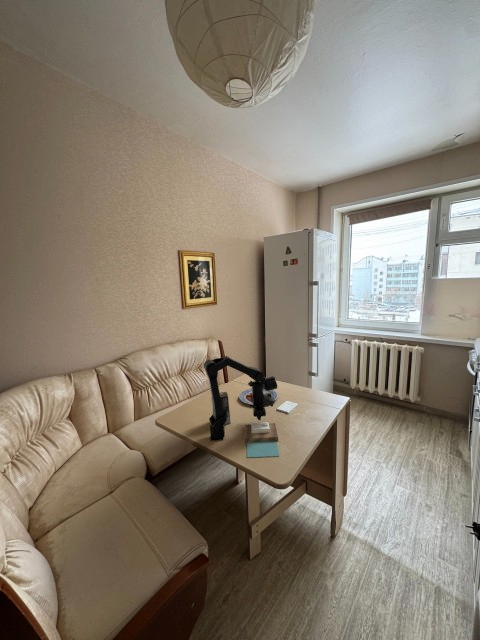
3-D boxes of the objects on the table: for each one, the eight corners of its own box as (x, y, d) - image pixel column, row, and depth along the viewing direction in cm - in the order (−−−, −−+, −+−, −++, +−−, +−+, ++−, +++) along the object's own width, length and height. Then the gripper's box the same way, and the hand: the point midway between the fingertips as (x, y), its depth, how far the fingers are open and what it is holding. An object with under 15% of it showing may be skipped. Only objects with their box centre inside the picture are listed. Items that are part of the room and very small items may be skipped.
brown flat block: (245, 442, 117) (244, 438, 116) (245, 428, 129) (244, 424, 128) (278, 441, 116) (278, 436, 116) (275, 427, 128) (275, 423, 128)
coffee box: (229, 417, 141) (227, 391, 139) (230, 423, 134) (228, 396, 132) (213, 419, 139) (211, 393, 137) (214, 425, 133) (211, 398, 131)
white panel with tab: (251, 433, 120) (251, 428, 120) (251, 426, 126) (251, 421, 126) (269, 432, 120) (269, 427, 120) (268, 425, 126) (268, 420, 126)
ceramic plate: (244, 410, 148) (244, 406, 147) (235, 393, 173) (235, 389, 172) (284, 403, 153) (283, 399, 153) (269, 388, 178) (269, 384, 178)
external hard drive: (276, 411, 146) (286, 402, 155) (288, 414, 140) (298, 406, 150) (276, 408, 145) (286, 400, 155) (288, 412, 140) (298, 403, 150)
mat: (247, 457, 106) (247, 457, 106) (247, 443, 116) (247, 442, 116) (279, 456, 106) (279, 455, 106) (276, 441, 116) (276, 441, 116)
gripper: (275, 399, 118) (276, 429, 120) (271, 384, 137) (272, 410, 139) (252, 400, 119) (254, 430, 121) (251, 385, 137) (253, 411, 139)
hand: (259, 420), depth 130 cm, fingers closed
